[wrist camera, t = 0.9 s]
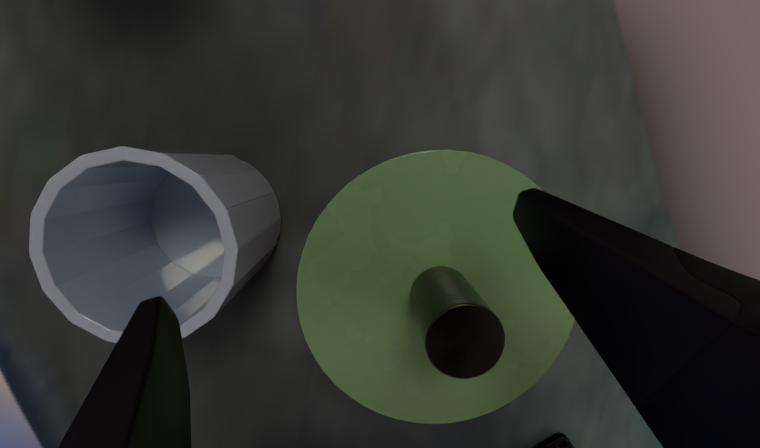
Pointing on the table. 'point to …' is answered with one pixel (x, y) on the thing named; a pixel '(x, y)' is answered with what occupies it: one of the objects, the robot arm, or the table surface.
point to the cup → (150, 234)
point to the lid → (429, 290)
